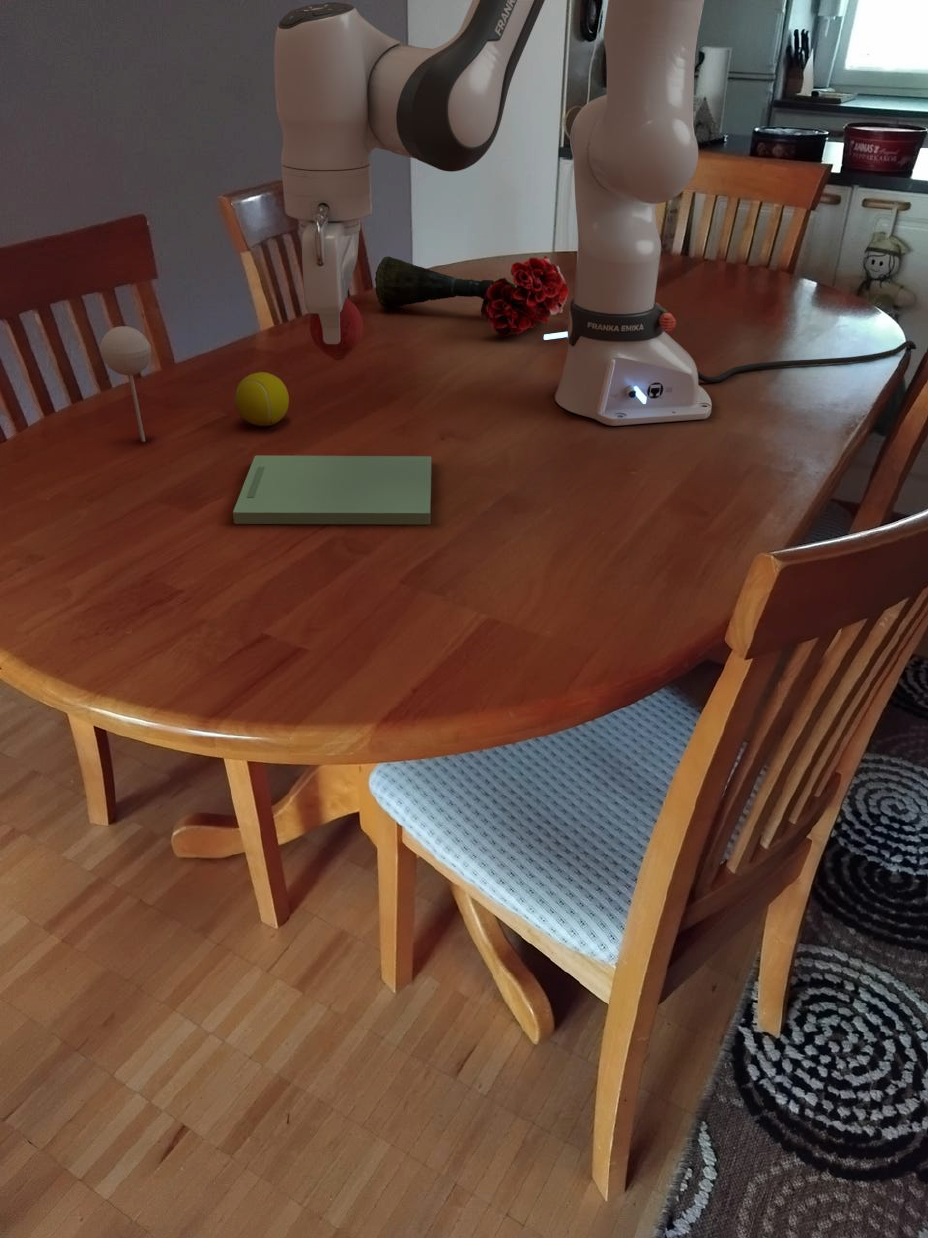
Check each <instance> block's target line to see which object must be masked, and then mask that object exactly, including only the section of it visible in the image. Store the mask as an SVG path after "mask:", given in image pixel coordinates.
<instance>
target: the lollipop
mask: <svg viewBox="0 0 928 1238" xmlns="http://www.w3.org/2000/svg"><path fill="white" fill-rule="evenodd" d="M99 353H100V356H101V358H102V360H103V362H104V364H106V366H107V367H108V368H109V369H110V370H112V371H113V372H114V373H116V374H118V375H122V376H128V379H129V383H130V388H131V394H132V398H133V403H134V409H135V414H136V418H137V424H138V429H139V434H140V439H141V442H142V443H145V442H146V437H145V432H144V427H143V421H142V416H141V411H140V405H139V400H138V396H137V391H136V385H135V380H134V375H137V374H139V373H141V372H142V371H144V370H145V369H146V368H147V367H148V365H149V363H150V360H151V355H152V347H151V343H150V342H149V340H148V338H146V336H145V335H144V334H143V333H142V332H141V331H139V330H138V329H136V328H135V327H132V326H131V327H130V326H126V325H123V326H122V325H121V326H116V327H113V328H111V329H110V330H109V331H107V332H106V333H105V334H104V336H103V338H102V340H101V343H100V345H99Z"/></svg>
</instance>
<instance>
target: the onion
mask: <svg viewBox="0 0 928 1238" xmlns="http://www.w3.org/2000/svg"><path fill="white" fill-rule="evenodd" d="M310 314H311V315H310V319H309V332H310V337H311V339H312V341H313V343H314V344H315V346H316V347H317V348H318V349H319V350H320V351H321V352H322V353H324V354H326V355H327V356H328V357H329V358H332V359H333V360H335V361H343V360H344V359H345V358H346V356H348V355H349V354H350V353H351V352H352V351H354V350H355V348H356V347H357V346H358V345H359V344H360V342H361V340H362V338H363V337H364V323H363V318H362V315H361V312H360V310H359V308H358V307H357V306H356V305H355V303H353V301H351V300H350V299H349V298H348V297H347V298H345V301H344V305H343V308H342V311H341V312H340V323H341V340H340V342H339V343H338V344H326V343H324V341H323V330H322V325H321V321H320V317H319V314H314V313H310Z"/></svg>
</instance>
